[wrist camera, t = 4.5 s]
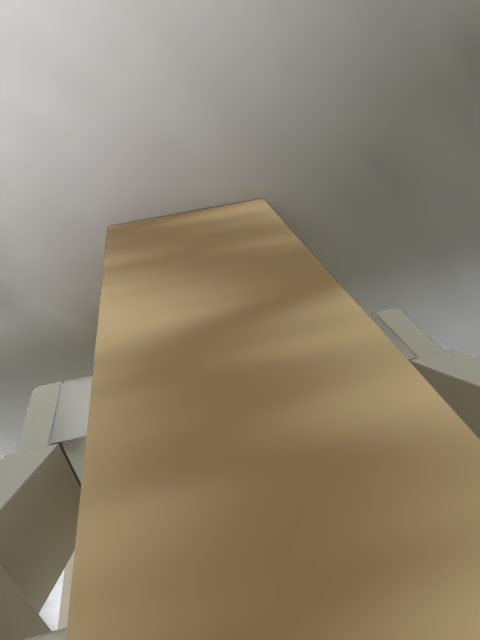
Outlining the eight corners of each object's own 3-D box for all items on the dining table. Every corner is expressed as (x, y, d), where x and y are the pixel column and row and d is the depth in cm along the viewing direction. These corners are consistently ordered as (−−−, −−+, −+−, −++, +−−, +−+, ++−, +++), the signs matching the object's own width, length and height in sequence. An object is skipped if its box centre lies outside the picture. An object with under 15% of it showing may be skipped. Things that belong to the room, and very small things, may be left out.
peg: (263, 198, 11) (631, 608, 3) (273, 325, 14) (504, 764, 5) (107, 226, 11) (49, 802, 3) (144, 353, 13) (176, 887, 5)
